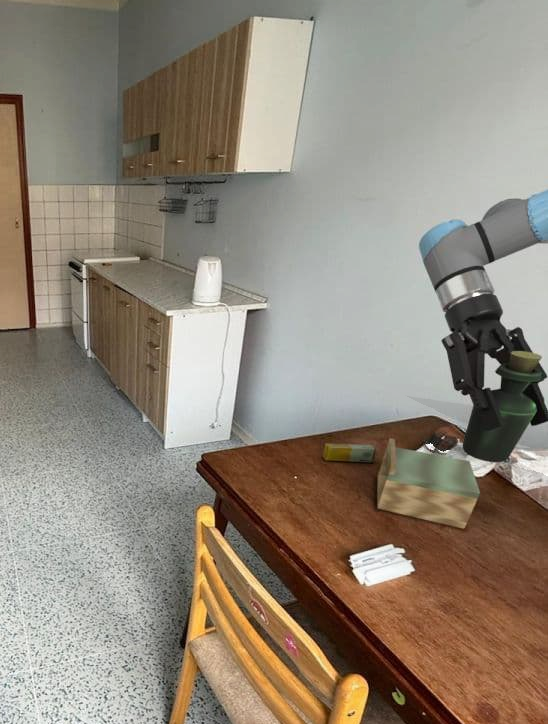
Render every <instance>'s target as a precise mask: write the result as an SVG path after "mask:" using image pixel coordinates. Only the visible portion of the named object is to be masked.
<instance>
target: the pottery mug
mask: <svg viewBox="0 0 548 724" xmlns="http://www.w3.org/2000/svg"><path fill="white" fill-rule="evenodd" d="M465 434H466V431H465V430H464V429H462V427H461V428H460V427H459V426H458V425H456V424H454V423H450V424H449V425H448V426H443V427H439V428H437V429H436V430H435V431H433V432H432V434H430V436H429V437H428V439H427V440H426V442H425V443H424V445H425V444H430V443H431V444H433V446H434V447H435V448H437V449H438V450H440V451H443V452H444V451H446V450H450V451H451V450H453V449H454V448H455V447H456V446H457V445H458V443H461V444H463V442H464V438H465ZM437 449H436V450H437ZM429 452H431V454H434V453H435V451H433V450H431V449H430V450H429Z"/></svg>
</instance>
